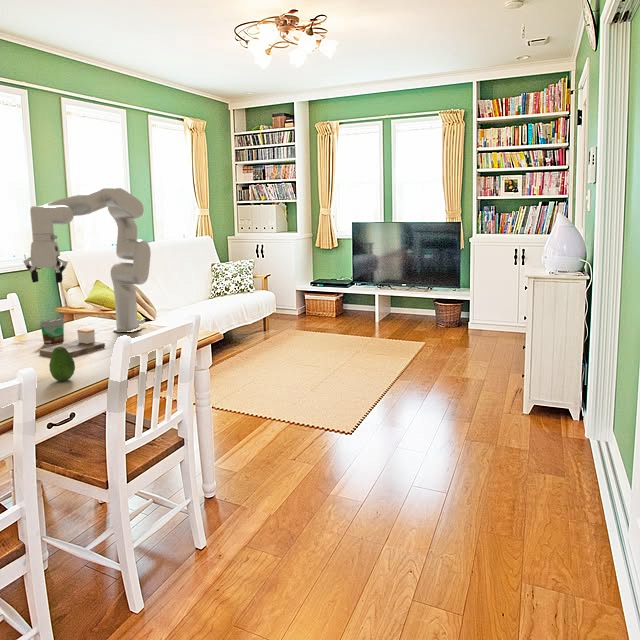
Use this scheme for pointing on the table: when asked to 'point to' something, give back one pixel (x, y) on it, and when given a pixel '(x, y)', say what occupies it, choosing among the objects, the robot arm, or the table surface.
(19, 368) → the table surface
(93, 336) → the beige small block
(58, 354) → the avocado
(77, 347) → the panel
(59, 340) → the food container
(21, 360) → the table surface
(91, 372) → the table surface
